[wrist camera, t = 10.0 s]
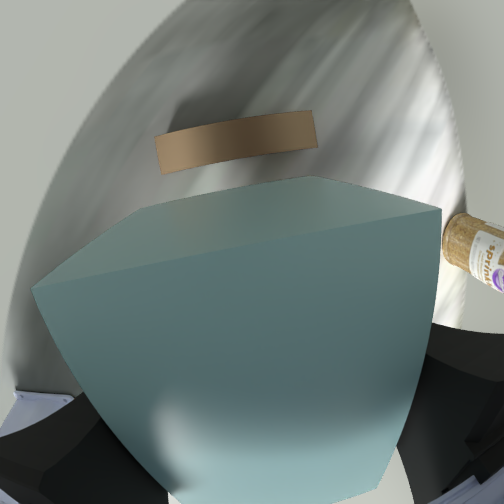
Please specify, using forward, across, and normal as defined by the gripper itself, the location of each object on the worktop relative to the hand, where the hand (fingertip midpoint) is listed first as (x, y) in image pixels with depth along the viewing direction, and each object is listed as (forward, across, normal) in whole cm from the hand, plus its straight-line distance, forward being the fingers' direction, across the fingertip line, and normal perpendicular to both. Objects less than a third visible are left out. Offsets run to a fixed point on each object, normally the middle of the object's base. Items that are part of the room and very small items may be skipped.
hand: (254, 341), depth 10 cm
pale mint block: (+2, 0, 0) cm, 2 cm away
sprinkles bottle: (+9, -18, +2) cm, 20 cm away
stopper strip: (+9, -1, -7) cm, 11 cm away
